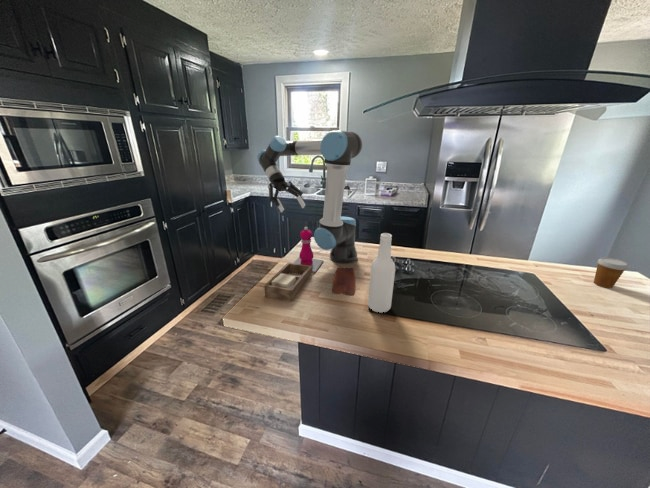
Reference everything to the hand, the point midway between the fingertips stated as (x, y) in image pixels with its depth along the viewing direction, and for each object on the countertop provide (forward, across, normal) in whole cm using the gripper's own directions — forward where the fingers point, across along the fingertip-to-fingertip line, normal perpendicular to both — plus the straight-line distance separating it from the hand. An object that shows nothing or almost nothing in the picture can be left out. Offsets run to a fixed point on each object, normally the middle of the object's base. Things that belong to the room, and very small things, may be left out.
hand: (293, 208), depth 135 cm
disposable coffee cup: (+105, -86, +62) cm, 150 cm away
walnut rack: (+35, +19, -5) cm, 40 cm away
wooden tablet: (+45, -2, +3) cm, 45 cm away
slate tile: (+27, +1, -12) cm, 30 cm away
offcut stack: (+37, +24, -3) cm, 44 cm away
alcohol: (+62, +4, +20) cm, 65 cm away
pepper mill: (+27, +1, -12) cm, 29 cm away
